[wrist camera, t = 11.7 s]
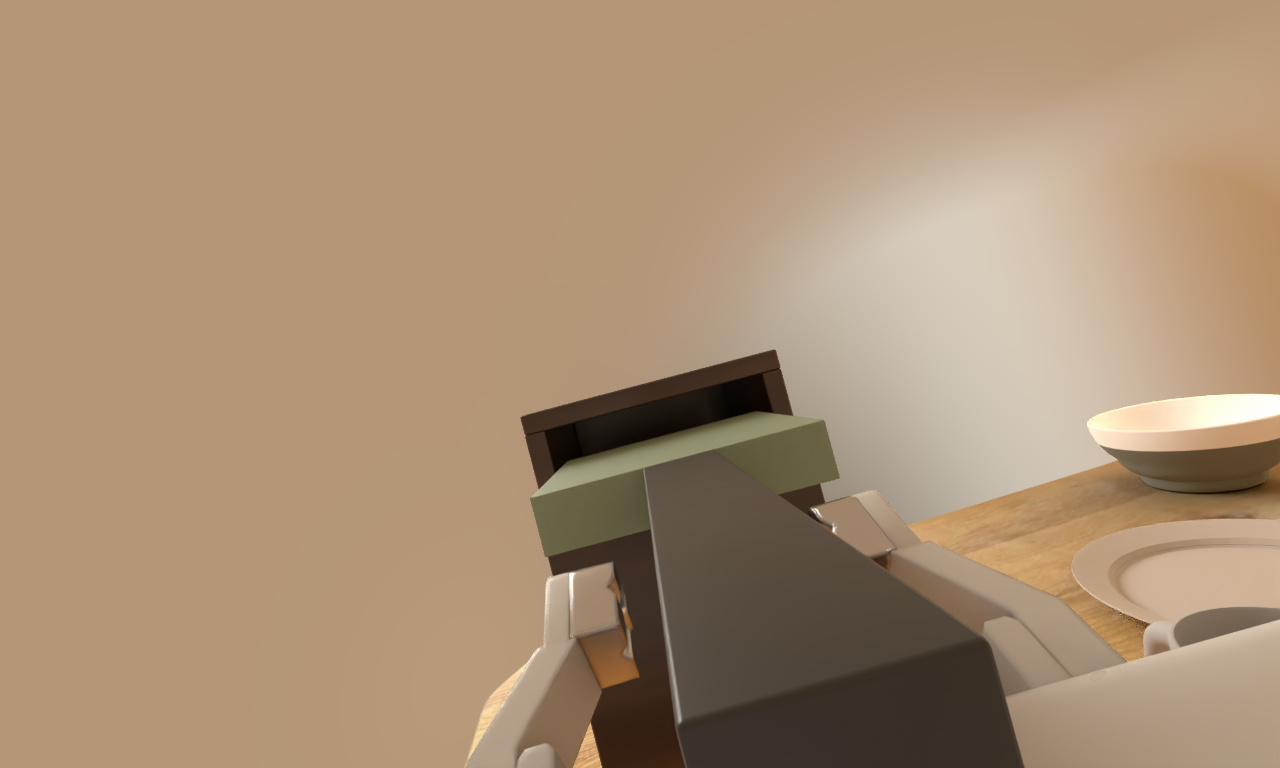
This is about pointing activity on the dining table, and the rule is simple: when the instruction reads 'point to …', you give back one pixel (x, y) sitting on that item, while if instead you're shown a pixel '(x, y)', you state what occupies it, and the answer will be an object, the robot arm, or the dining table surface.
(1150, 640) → the mug
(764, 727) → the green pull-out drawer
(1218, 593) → the plate
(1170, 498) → the dining table surface
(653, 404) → the stand
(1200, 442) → the bowl
